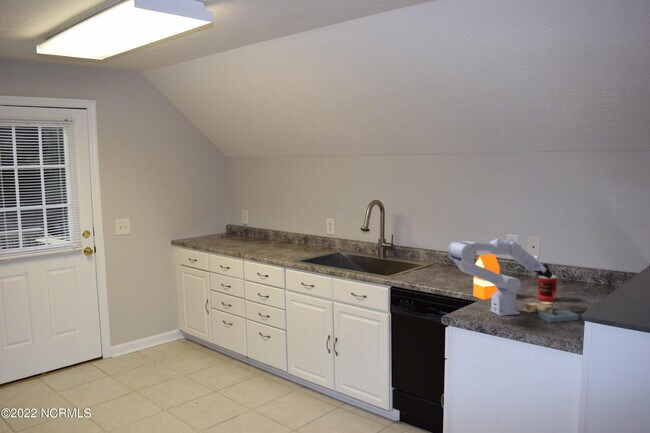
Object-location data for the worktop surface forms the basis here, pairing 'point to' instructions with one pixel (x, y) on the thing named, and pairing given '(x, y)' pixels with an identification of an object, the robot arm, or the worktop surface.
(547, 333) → the worktop surface
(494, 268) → the orange juice
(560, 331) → the worktop surface
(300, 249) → the worktop surface
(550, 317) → the dock
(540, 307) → the t block
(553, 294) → the canned food
